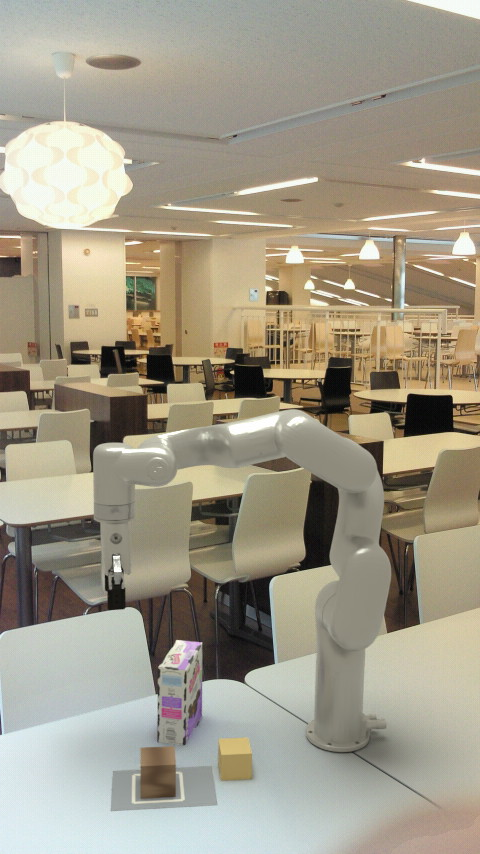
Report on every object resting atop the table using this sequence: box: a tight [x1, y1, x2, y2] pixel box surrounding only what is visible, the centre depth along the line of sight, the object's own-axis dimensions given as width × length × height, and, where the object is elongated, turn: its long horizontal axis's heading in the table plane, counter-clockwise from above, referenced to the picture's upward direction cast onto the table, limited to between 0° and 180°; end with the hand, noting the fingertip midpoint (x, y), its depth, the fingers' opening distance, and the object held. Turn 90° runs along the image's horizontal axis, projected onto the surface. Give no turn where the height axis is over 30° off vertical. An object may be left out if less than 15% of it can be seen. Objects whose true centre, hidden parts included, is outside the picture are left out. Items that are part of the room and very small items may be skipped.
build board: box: [110, 765, 219, 812], centre depth 148 cm, size 18×12×1 cm, turn 97°
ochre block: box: [217, 736, 253, 781], centre depth 153 cm, size 6×6×6 cm
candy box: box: [156, 639, 203, 746], centre depth 168 cm, size 14×6×16 cm, turn 168°
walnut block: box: [140, 745, 177, 799], centre depth 147 cm, size 6×6×6 cm
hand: (114, 599), depth 157 cm, fingers open, 9 cm apart
